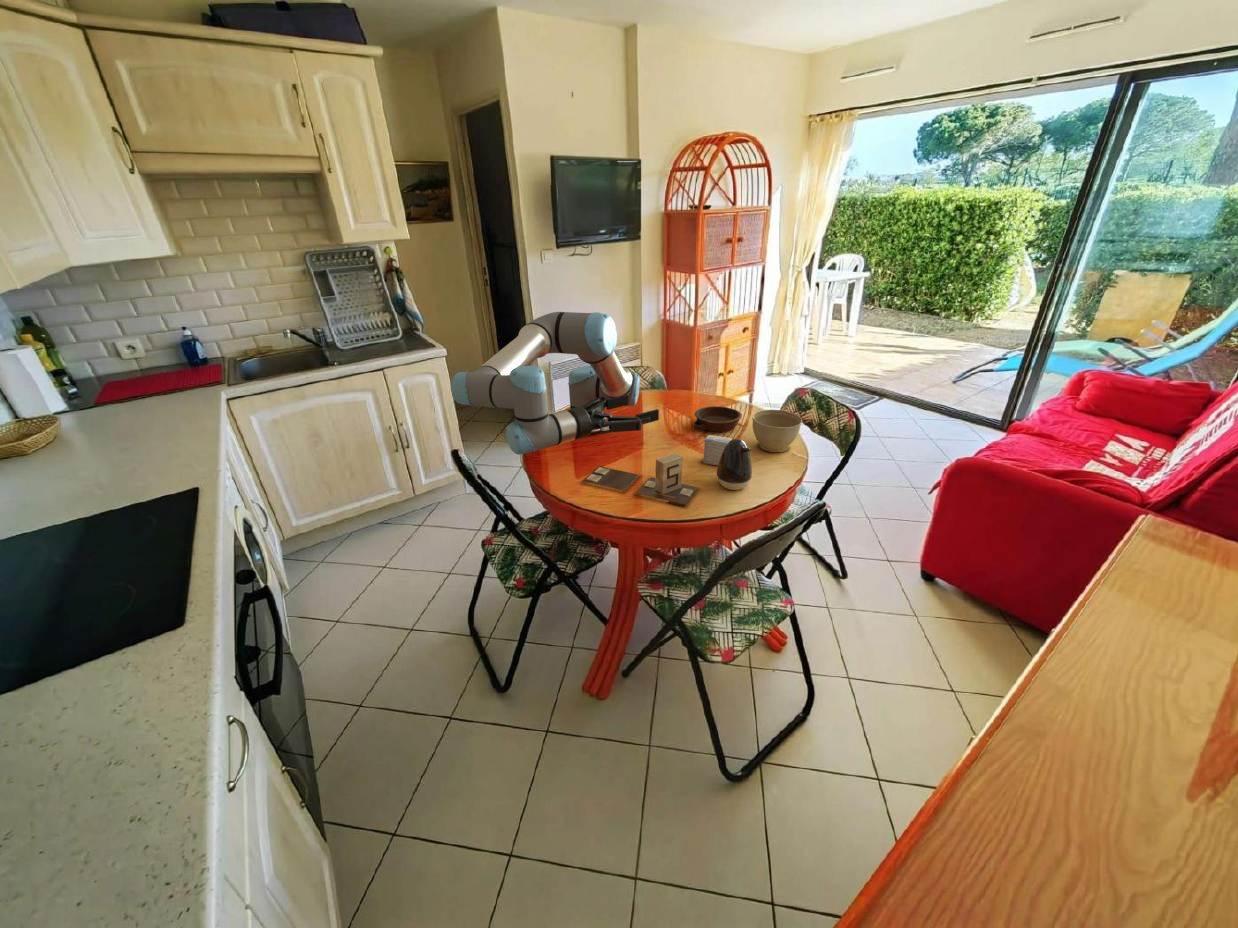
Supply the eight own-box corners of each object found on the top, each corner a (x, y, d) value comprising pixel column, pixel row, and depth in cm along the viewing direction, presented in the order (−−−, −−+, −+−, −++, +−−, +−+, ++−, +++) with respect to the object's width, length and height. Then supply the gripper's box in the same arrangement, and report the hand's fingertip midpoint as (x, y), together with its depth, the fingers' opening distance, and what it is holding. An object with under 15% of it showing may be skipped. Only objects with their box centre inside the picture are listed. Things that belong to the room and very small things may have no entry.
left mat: (582, 483, 156) (582, 480, 155) (599, 468, 164) (599, 465, 164) (623, 492, 150) (623, 489, 149) (639, 476, 159) (639, 473, 158)
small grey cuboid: (681, 488, 150) (683, 457, 146) (663, 494, 147) (663, 463, 142) (673, 483, 153) (674, 453, 149) (655, 489, 150) (655, 459, 145)
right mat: (636, 495, 148) (636, 492, 148) (650, 479, 157) (650, 476, 157) (684, 507, 142) (685, 503, 142) (697, 489, 151) (697, 486, 151)
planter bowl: (740, 441, 182) (743, 412, 177) (779, 435, 186) (783, 407, 181) (765, 460, 168) (769, 429, 163) (807, 453, 172) (812, 423, 167)
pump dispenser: (730, 497, 146) (735, 449, 140) (708, 482, 155) (712, 436, 148) (758, 489, 151) (763, 442, 144) (735, 475, 159) (739, 430, 152)
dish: (754, 426, 194) (756, 414, 192) (711, 440, 183) (712, 427, 181) (722, 413, 207) (723, 401, 205) (680, 425, 196) (680, 413, 194)
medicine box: (730, 462, 167) (732, 437, 163) (726, 467, 163) (728, 443, 159) (706, 458, 170) (708, 434, 166) (702, 463, 166) (704, 439, 162)
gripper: (548, 423, 134) (616, 407, 144) (598, 457, 115) (671, 435, 125) (546, 396, 130) (615, 381, 141) (597, 427, 112) (672, 406, 122)
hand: (642, 406), depth 133 cm, fingers open, 13 cm apart
